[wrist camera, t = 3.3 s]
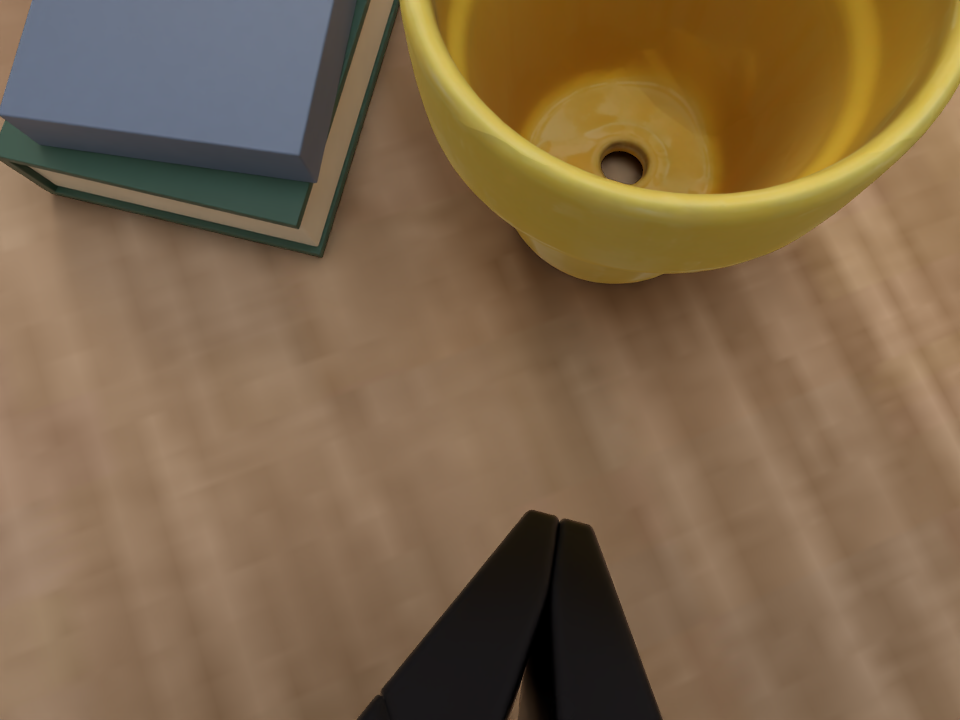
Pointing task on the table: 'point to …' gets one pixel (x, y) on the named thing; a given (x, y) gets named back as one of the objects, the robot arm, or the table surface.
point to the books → (198, 108)
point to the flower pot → (677, 117)
